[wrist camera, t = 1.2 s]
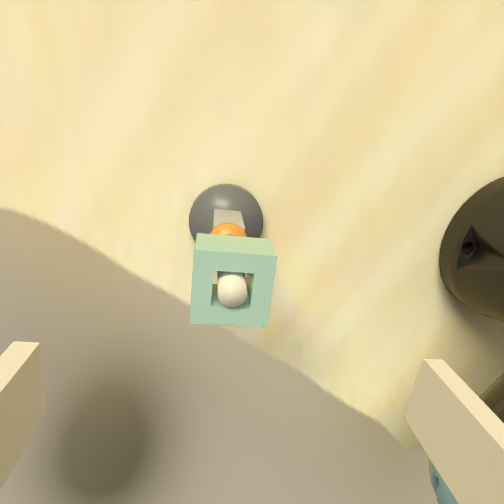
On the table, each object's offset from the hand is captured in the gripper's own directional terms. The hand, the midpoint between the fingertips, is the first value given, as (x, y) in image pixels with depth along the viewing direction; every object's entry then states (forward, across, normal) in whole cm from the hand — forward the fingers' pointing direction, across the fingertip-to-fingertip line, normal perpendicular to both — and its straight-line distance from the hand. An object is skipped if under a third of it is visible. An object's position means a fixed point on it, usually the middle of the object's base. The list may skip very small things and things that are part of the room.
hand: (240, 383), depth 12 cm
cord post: (+23, 0, 0) cm, 23 cm away
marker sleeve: (+11, 0, 0) cm, 11 cm away
